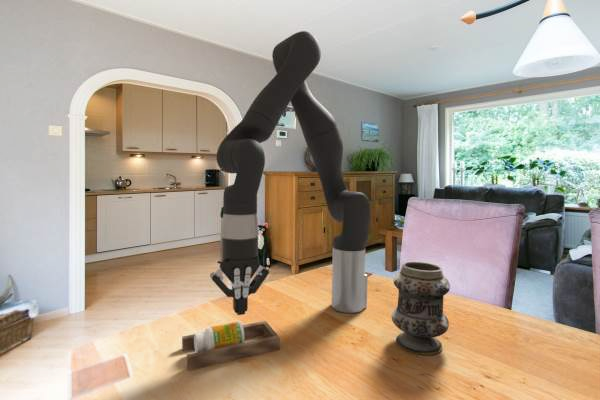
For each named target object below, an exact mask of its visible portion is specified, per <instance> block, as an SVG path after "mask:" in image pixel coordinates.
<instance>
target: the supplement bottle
mask: <svg viewBox="0 0 600 400" xmlns="http://www.w3.org/2000/svg"><path fill="white" fill-rule="evenodd" d="M242 325H243V324H242V322H240V321H233V322H228V323H224V324H218V325H214V326H209V327H207V328H206V329H205V330H204V331H203V332H196V333H194V334H195V335H194V347H195V349H194V353H197V352H201V351H206V350H211V349H215V348H220V347H225V346H230V345H234V344H239V343H244V342H245V340H246V338H244V329H243V326H242Z"/></svg>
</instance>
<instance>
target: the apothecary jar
mask: <svg viewBox="0 0 600 400" xmlns="http://www.w3.org/2000/svg"><path fill="white" fill-rule="evenodd" d="M393 284H394V286H395V288H397V290H398V298H397V306H396V307H394V308H393V310H392V311H391V321H392V323H393V324H394V326H395V327H396V328H397V329H399V330H400V331H402V332H401V333H399V334H398V335H397V336H396V337H395V342H396V344H397V346H399V347H400V348H401V349H403V350H405V351H406V352H409V353H412V354H417V355H420V356H421V355H422V356H432V355H437V354H439V353H440V352H441V351H442V350H443V344H442V343H441V342H440V340H438V338H437V337H440V336H443V335H444V334H446V332H447V331H448V329H449V326H450V322H449V320H448V317H447V315H446V314H445V313H444V296H446V295H447V294H448V293H449V291H450V289H451V286H450V285H451V284H450V282H449V280H448V279H447V278H446V277H445V276H444V273H443V267H441V266H440V265H438V264H436V263H430V262H427V261H426V262H424V261H415V260H414V261H412V260H411V261H405V262H403V263H402V265H401V269H400V270H399V272H396V274H395V275H394V277H393Z"/></svg>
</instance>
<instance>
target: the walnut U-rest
mask: <svg viewBox="0 0 600 400" xmlns="http://www.w3.org/2000/svg"><path fill="white" fill-rule="evenodd" d="M242 326H243V329H244V338H245V339H249V338H252V337H257V336H261V335H263V336H264V337H263V338H259V339H253V340H249V341H244V343H239V344H234V345H230V346H225V347H220V348H215V349H211V350H206V351H201V352H197V353H195V352H193V353H188V354H186V370H187V371H188V372H189V371H193V370H196V369H201V368H205V367H210V366H215V365H219V364H222V363H228V362H231V361H237V360H240V359H243V358H244V359H245V358H249V357H253V356H257V355H261V354H266V353H270V352H274V351H279V350H281V337H280V336H279V335H278V334H277V332H276V331H275V330H274V329H273V327H272V326H271V325H270V323H268V322H267V320H263V321H258V322H257V321H256V322H253V323H247V324H242ZM195 334H196V333H194V334H189V335H185V336H184V335H183V336H182V338H181V339H182V341H181V347H182V351H183V352H185V351H190V350H195V347H194V335H195Z"/></svg>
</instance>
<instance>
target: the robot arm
mask: <svg viewBox="0 0 600 400" xmlns="http://www.w3.org/2000/svg"><path fill="white" fill-rule="evenodd" d="M271 56H272V62H273V66H274V70H275V72H276V74H275V75H274V77H273V78H272V79H271V80H270V81H269V82H268V83H267V84H266V85H265V86H264V87H263V89H262V90H261V91H260V92H259V93H258V94H257V96H255V99H254V100H253V101H252V103H251V104H250V106H249V108H248V109H247V111H246V112H245V115H244V116H243V118H242V120H241V121H240V122H238V124H237V125H236V126H234V127H233V129H231V130H230V132H229V133H228V134H227V135H226V136H225V137H224V138H223V140H222V141H221V142H220V143H219V146H218V148H217V152H216V162H217V165H218V167H219V168H220V170H222V171H223V172H224V173H227V174H235V178H234V182H233V183H232V184H230V185H228V186H227V187H225V188H224V190H223V199H222V200H223V205H222V206H223V210H222V211H223V215H222V224H221V225H222V226H221V228H222V229H221V230H222V231H221V232H222V233H221V235H222V236H221V246H222V247H221V251H222V252H221V262H220V264H219V268H217V270H216V271H215V272H210V275H209V276H210V279H211V280H212V282H213V283H214V284H215V285H216V286H217V288H219V289H220V290H221V292H223V294H224V295H225V297H227V298H232V309H233V311H234V313H235V314H236V315H237V316H243V315H245V314H246V312H247V311H248V305H249V303H248V302H249V301H248V299H249V296H250V295H252V294H255V293H257V292H258V290H259V288H260V287H261V285H262V284H263V283H264V282H265V280H266V278H267V277H268V275H269V274H270V270H269V269H268V268H266V266H262V265H261V262H260V260H259V220H258V192H259V189H260V185H261V182H262V178H263V173H264V170H265V165H266V164H265V163H266V155H265V152H264V148H263V146H262V145H261V143H264V142H266V141H268V140H269V139H270V138H271V136H272V134H273V133H274V131H275V130H276V129H275V128H276V127H277V125H278V123H279V121H280V120H281V118H282V116H283V114H284V112H285V111H286V109H287V107H288V106H289V104H290V103H291V106H292V108H293V111H294V114H295V116H296V118H297V121H298V124H299V127H300V128H301V132H302V135H303V138H304V141H305V143H306V146H307V148H308V151H309V153H310V156H311V159H312V161H313V163H314V164H313V165H314V167H315V169H316V172H317V175H318V177H319V181H320V184H321V188H322V190H323V191H322V192H323V194H324V199H325V202H326V208H327V210H328V212H329V213H328V214H329V215H330V217H331V218H332V219H333V220H334V221H336V222H339V223H342V228H341V233H339V234H338V235H335V236H334V237H333V239H332V262H331V263H332V265H331V266H332V267H331V268H332V269H331V271H332V272H331V308H333V309H334V310H335V311H337V312H341V313H346V314H354V313H359V312H362V311H363V310H364V309H366V308H367V307H368V278H369V277H368V274H366V247H367V246H366V245H367V243H368V239H369V236H370V227H371V226H370V225H371V215H372V214H371V212H372V211H371V210H372V209H371V208H372V207H371V203H370V199H369V197H368V196H367V195H366V194H365V193H364V192H359V191H351V190H350V191H349V189H348V187H347V185H346V181H345V179H344V175H343V173H342V172H343V171H342V165H343V163H342V162H343V157H344V155H343V154H344V145H343V144H344V143H343V139H342V136H341V133H340V130H339V127H338V124H337V122H336V120H335V119H336V118H334V116H333V115H332V114H331V113H330V111H328V110H327V109H326V107H325V106H323V104H321V103H320V102H319V101H318V100H317V99H316V98H315V97H314V95H313V94H312V92H311V90H310V89H309V85H308V83H307V81H306V80H307V79H308V78H309V76H310V75H311V74H312V73H313V71H314V70H315V69H316V68H317V67H318V65H319V63H320V61H321V57H322V50H321V46H320V43H319V41H318V39H317V38H316V37H315V36H314V34H312V33H311V32H309V31H307V30H304V31H303V30H301V31H298V32H295V33H294V34H293V33H292V34H291V35H290V36H288V37H287V38H285V39H284V40H282V41H280V42H278V43H277V44H276V45H275V46H274V48H273V50H272V54H271ZM223 274H224V275H225V277H226V278H227V279H228V280H229V282H230V285H231V288H229V287H228V286H227V284H225V283H224V281H223V280H224V276H223ZM254 275H255V276H254ZM252 278H253V279H252Z"/></svg>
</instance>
